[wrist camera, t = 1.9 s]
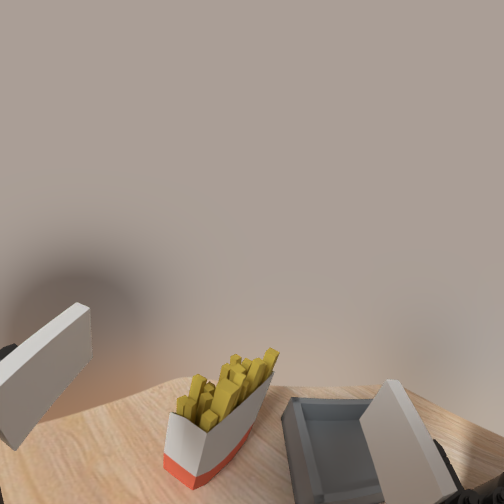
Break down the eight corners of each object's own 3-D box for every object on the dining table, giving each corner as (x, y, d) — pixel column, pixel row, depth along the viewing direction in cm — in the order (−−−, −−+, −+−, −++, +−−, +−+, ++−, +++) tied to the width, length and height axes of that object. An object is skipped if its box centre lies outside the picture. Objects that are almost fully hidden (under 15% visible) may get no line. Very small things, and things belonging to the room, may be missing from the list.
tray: (383, 416, 38) (397, 397, 37) (420, 489, 21) (441, 471, 20) (280, 417, 36) (291, 396, 35) (297, 517, 19) (314, 503, 18)
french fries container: (160, 473, 22) (164, 372, 17) (215, 431, 31) (244, 327, 27) (191, 497, 20) (214, 408, 15) (243, 448, 29) (284, 347, 25)
